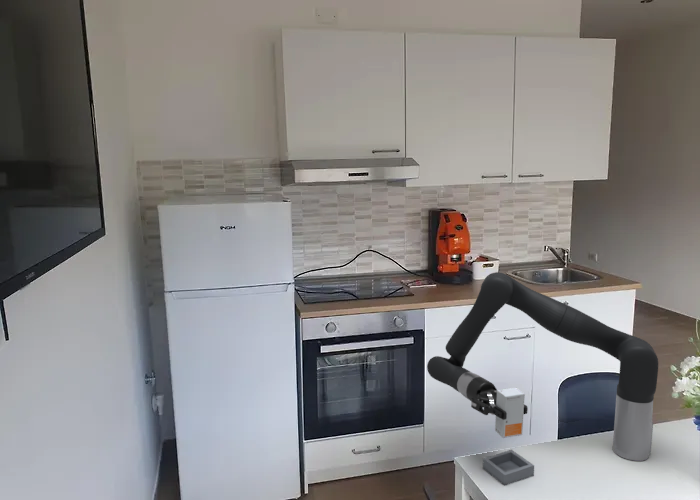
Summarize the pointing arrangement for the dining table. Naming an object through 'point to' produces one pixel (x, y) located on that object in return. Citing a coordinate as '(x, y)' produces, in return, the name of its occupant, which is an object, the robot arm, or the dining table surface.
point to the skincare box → (510, 412)
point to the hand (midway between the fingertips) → (516, 413)
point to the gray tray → (508, 467)
